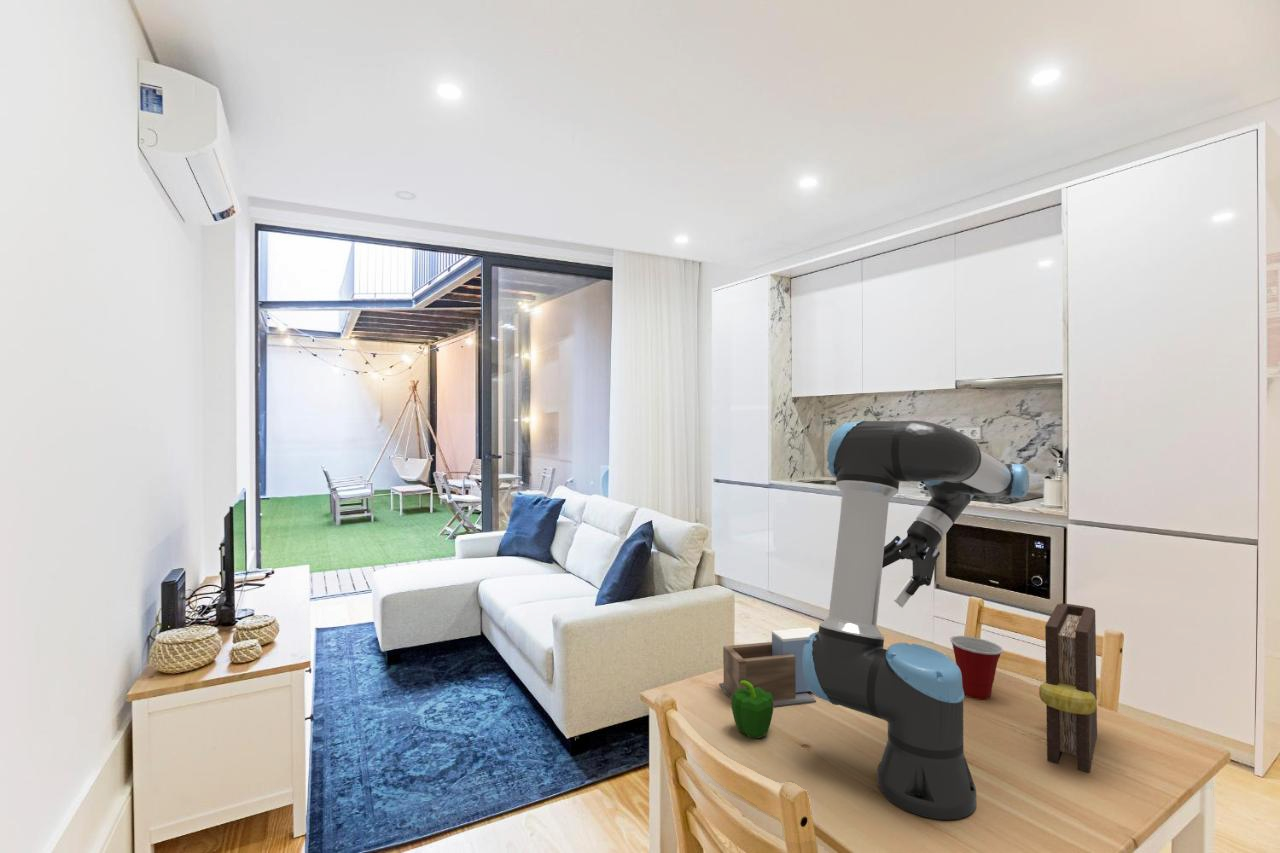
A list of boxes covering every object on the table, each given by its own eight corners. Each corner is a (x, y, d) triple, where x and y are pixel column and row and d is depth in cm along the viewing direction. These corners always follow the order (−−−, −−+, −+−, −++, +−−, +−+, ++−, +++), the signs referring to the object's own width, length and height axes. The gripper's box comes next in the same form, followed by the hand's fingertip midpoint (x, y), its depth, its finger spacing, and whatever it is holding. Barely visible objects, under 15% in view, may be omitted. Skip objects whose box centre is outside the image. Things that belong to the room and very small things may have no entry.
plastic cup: (1012, 706, 133) (1012, 651, 134) (960, 703, 135) (959, 649, 135) (992, 685, 144) (991, 635, 144) (944, 683, 146) (943, 633, 146)
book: (1053, 720, 127) (1051, 601, 127) (1104, 733, 121) (1102, 609, 121) (1037, 765, 110) (1035, 628, 110) (1096, 783, 105) (1093, 638, 105)
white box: (823, 689, 141) (822, 635, 141) (783, 694, 139) (783, 639, 139) (810, 679, 147) (809, 627, 147) (772, 683, 145) (771, 630, 145)
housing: (816, 702, 136) (815, 658, 136) (741, 711, 132) (740, 665, 132) (787, 677, 150) (787, 637, 150) (719, 685, 146) (718, 643, 146)
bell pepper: (783, 734, 122) (782, 685, 122) (753, 746, 118) (753, 695, 118) (753, 718, 129) (753, 671, 129) (724, 729, 125) (724, 680, 125)
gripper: (977, 548, 140) (924, 621, 137) (904, 529, 164) (858, 590, 161) (957, 528, 139) (904, 600, 135) (887, 511, 163) (839, 573, 160)
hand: (879, 595), depth 148 cm, fingers open, 13 cm apart
